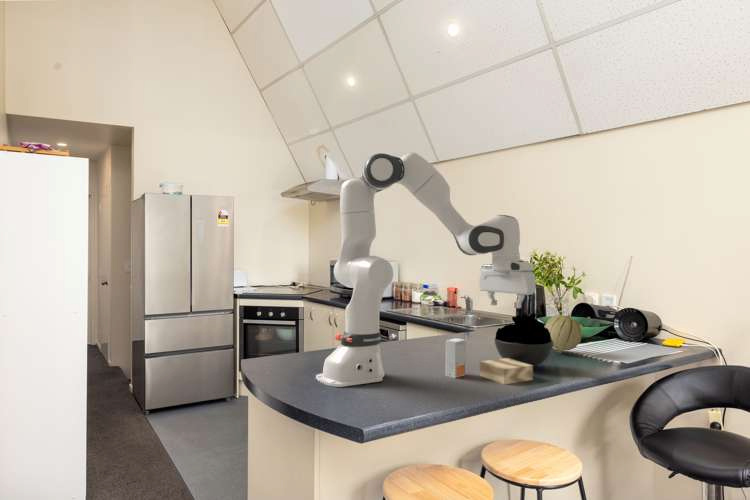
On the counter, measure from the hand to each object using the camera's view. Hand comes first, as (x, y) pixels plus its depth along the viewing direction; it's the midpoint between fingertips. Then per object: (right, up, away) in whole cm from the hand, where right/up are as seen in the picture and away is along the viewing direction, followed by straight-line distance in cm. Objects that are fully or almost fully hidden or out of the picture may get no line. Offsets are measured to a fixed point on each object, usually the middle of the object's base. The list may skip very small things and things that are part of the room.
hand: (505, 306), depth 159 cm
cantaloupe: (+35, -23, +43) cm, 60 cm away
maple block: (0, -24, 0) cm, 24 cm away
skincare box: (-16, -24, +2) cm, 29 cm away
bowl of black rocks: (+10, -24, +14) cm, 29 cm away
